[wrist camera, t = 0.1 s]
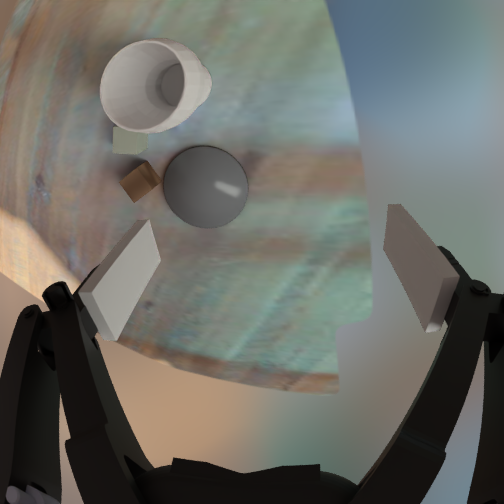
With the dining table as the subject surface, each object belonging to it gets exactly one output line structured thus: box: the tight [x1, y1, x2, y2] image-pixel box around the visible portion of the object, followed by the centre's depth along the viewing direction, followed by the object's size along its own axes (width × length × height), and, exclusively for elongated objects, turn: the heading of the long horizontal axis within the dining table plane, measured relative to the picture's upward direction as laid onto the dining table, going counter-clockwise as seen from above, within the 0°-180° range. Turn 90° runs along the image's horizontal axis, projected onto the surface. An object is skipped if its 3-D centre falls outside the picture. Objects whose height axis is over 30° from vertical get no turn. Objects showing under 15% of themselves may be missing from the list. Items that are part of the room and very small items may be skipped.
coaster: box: [164, 146, 248, 228], centre depth 43 cm, size 13×13×1 cm
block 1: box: [113, 126, 148, 155], centre depth 38 cm, size 4×4×4 cm
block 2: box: [119, 161, 161, 203], centre depth 42 cm, size 4×4×4 cm
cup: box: [100, 38, 212, 134], centre depth 29 cm, size 11×11×15 cm
